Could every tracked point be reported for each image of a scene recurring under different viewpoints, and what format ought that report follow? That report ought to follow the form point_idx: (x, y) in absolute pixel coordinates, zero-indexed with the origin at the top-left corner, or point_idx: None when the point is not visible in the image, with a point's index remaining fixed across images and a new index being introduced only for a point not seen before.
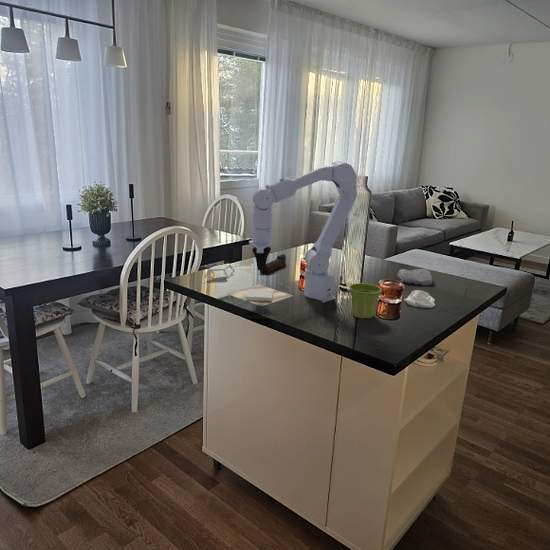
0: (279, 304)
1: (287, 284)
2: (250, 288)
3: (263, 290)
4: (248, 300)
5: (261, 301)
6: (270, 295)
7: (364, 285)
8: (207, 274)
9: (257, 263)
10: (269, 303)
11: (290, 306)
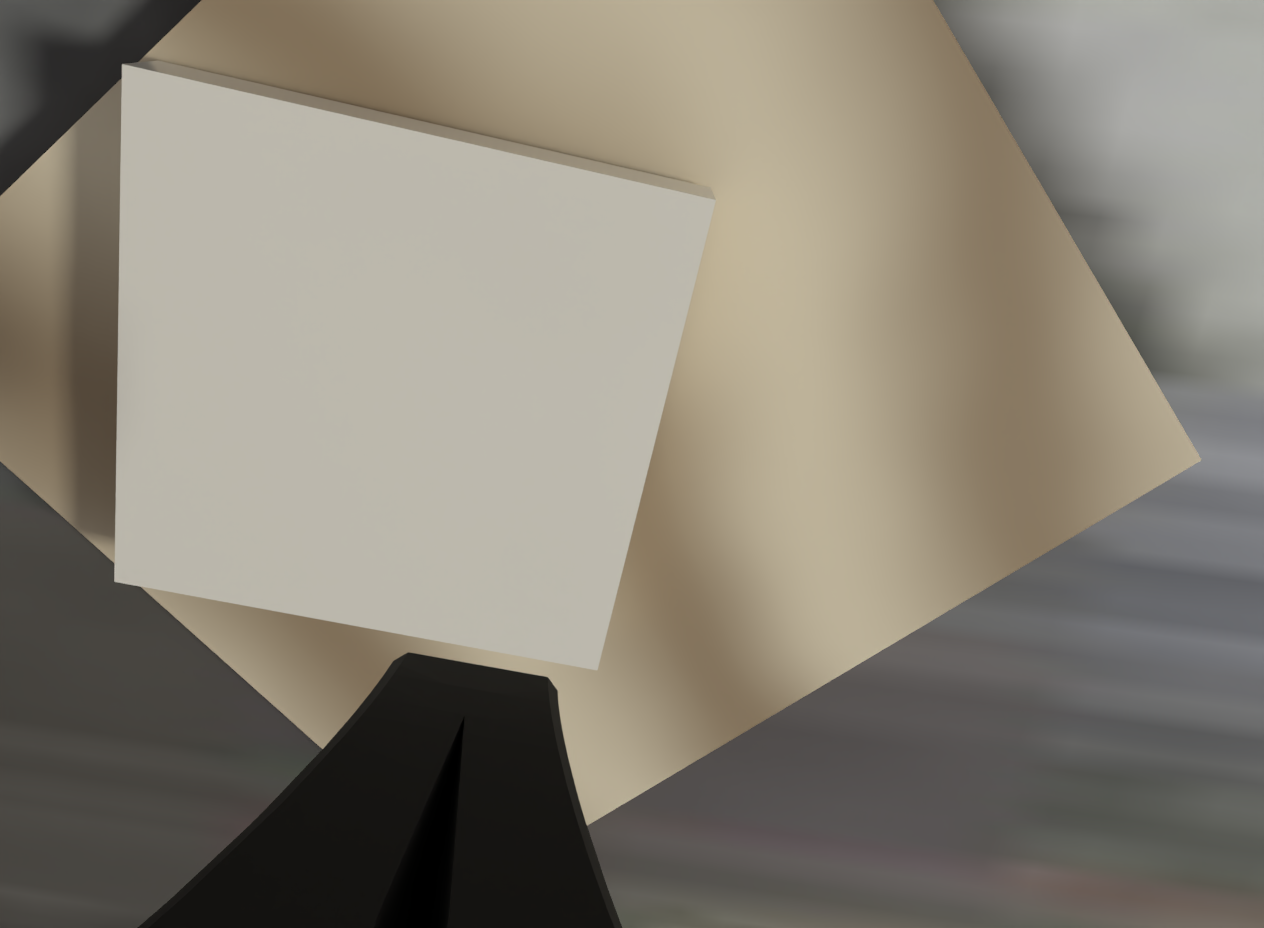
0: None
1: (1188, 881)
2: (980, 256)
3: (568, 497)
4: None
5: None
6: (248, 580)
7: None
8: None
9: (266, 835)
10: (48, 497)
11: (132, 761)
